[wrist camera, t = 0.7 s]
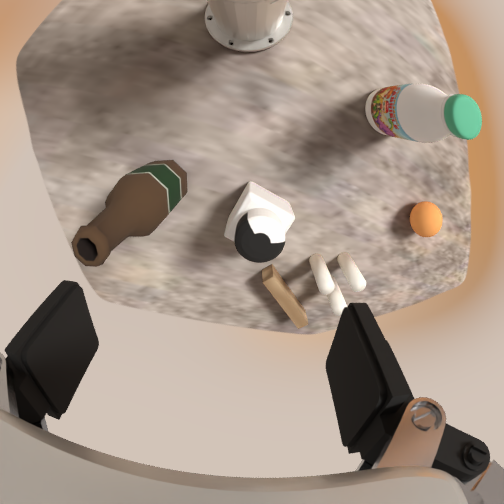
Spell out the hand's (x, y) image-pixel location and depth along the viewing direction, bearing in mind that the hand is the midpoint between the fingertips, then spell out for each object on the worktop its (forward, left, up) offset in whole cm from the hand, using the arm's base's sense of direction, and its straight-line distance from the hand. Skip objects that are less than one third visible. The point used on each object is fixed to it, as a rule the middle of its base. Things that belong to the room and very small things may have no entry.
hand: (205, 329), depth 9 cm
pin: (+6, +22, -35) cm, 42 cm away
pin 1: (+9, +18, -35) cm, 40 cm away
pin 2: (+11, +22, -35) cm, 43 cm away
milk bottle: (-19, +15, -35) cm, 43 cm away
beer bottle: (+7, -10, -35) cm, 37 cm away
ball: (-8, +30, -32) cm, 45 cm away
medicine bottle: (+5, +5, -35) cm, 36 cm away
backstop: (+17, +16, -35) cm, 42 cm away
